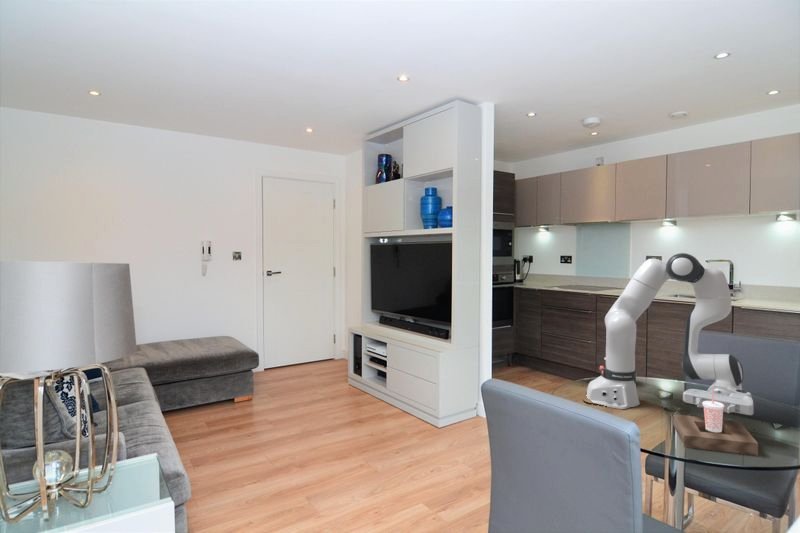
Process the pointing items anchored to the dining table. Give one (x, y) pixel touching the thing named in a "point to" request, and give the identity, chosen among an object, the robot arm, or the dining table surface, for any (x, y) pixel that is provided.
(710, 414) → the beverage cup
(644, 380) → the dining table surface
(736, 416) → the dining table surface
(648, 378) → the dining table surface
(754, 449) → the walnut tray
